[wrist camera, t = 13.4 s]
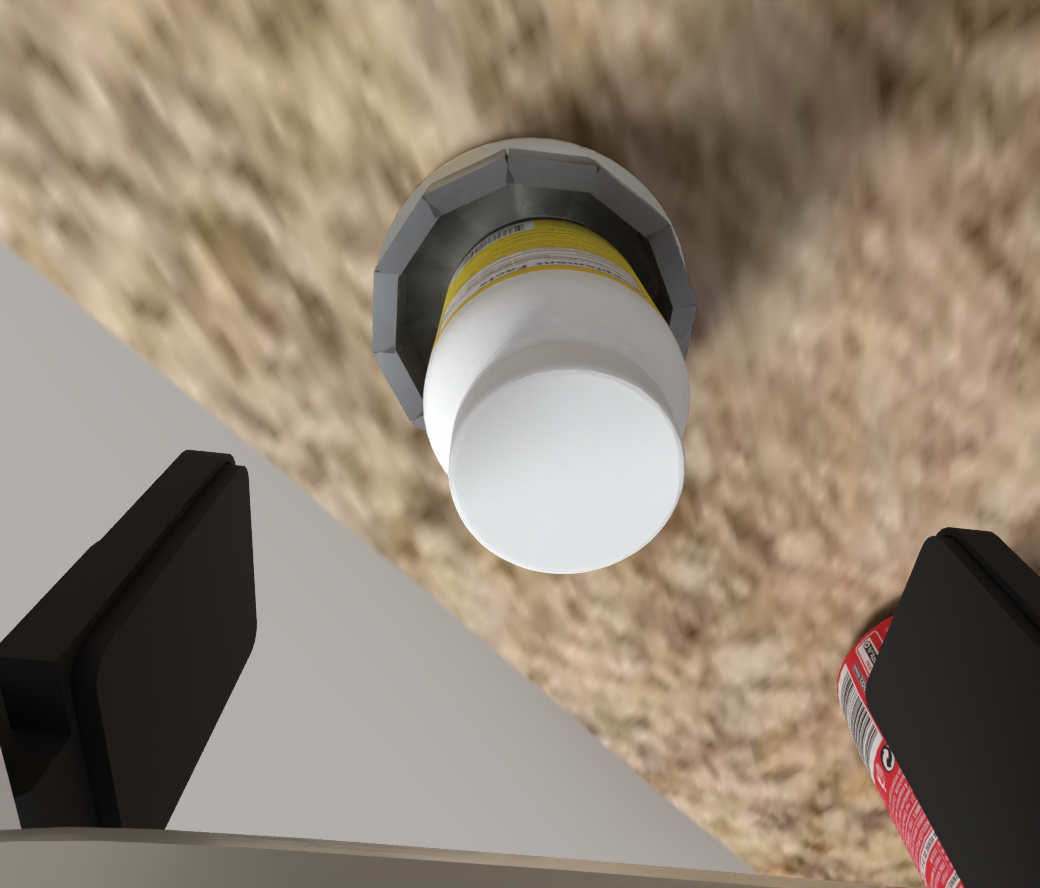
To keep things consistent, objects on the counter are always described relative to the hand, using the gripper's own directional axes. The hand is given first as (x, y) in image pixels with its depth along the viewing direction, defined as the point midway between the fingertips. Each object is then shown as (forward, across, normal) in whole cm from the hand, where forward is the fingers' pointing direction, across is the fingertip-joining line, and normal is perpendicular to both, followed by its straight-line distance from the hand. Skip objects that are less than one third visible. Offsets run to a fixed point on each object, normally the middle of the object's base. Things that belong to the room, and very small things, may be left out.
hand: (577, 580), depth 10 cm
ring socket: (+13, +1, 0) cm, 13 cm away
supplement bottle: (+12, 0, 0) cm, 12 cm away
